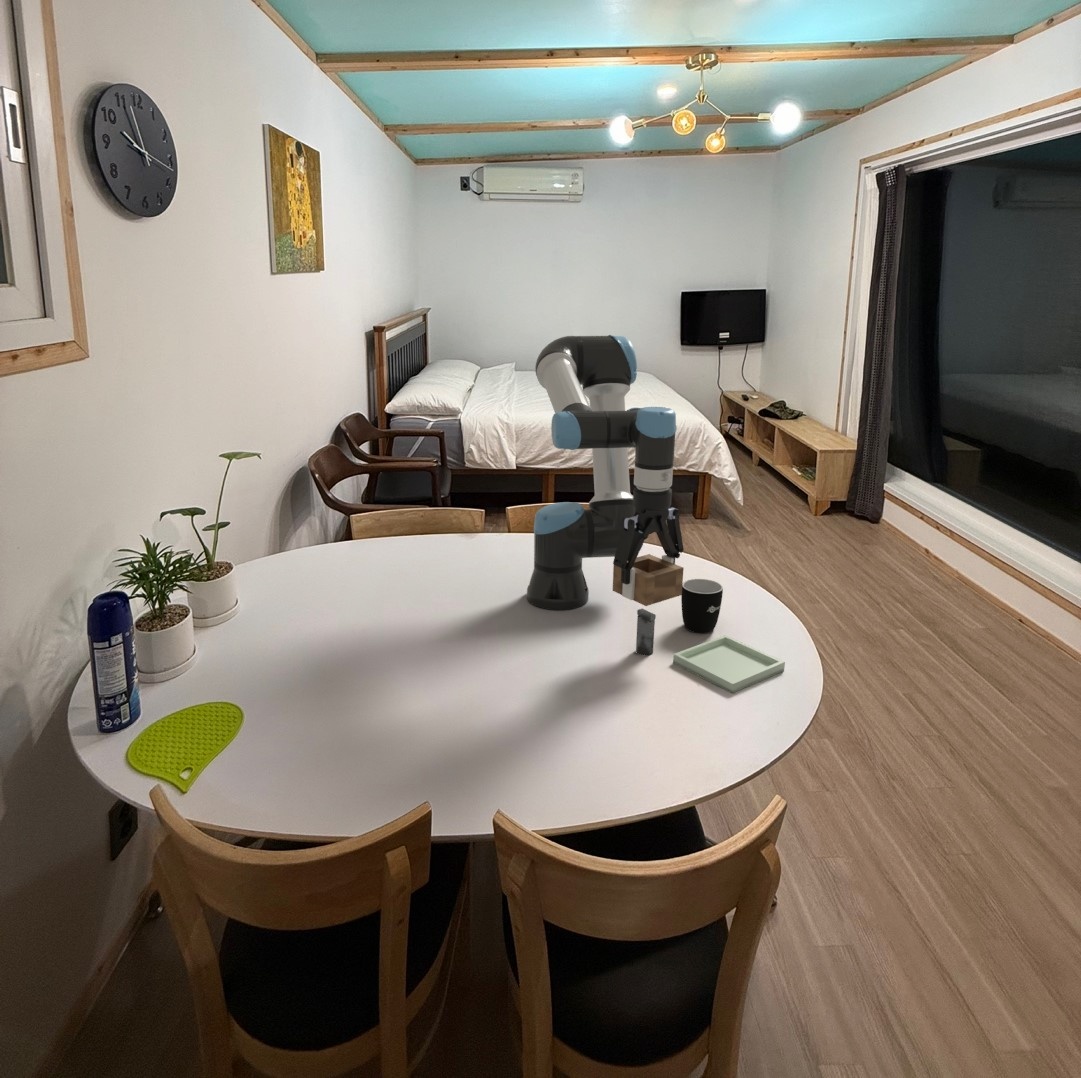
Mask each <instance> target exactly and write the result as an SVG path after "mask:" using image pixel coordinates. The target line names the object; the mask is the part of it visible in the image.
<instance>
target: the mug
mask: <svg viewBox="0 0 1081 1078" xmlns="http://www.w3.org/2000/svg"><path fill="white" fill-rule="evenodd" d="M723 591H724V588H723V585H722V584H721V583H719V582H718V581H715V580H712V579H705V578H692V579H688V580H685V581H683V584H682V595H680V596H681V597H680V598H681V599H680V600H681V601H680V602H681V603H680V604H681V614H682V616H681V617H682V622H683V625H684V627H685V629H686V630H688V631H689V632H691V633H695V634H696V633H697V634H707V633H708V634H709V633H711V632H712V631H714V629H715V628H716V625H717V623H718V621H719V620H718V619H719V616H720V612H721V607H722V600H723V595H724V594H723V593H724V592H723Z"/></svg>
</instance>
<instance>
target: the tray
mask: <svg viewBox="0 0 1081 1078" xmlns="http://www.w3.org/2000/svg"><path fill="white" fill-rule="evenodd" d="M672 657H673V659H672V660H673V661H672V663H673V664H674V665H677V666H678V667H680V668H682V669H684V670H686V671H688V672H690V673H691V674H694V675H696V676H697V677H700V678H701V679H703V680H705V681H707V682H709V683H711V684H713V685H715V686H717V687H719V688H721V689H723V690H725V691H726V692H728V693H731V694H735V693H736V692H739V691H741V690H743V689H746V688H748V687H750V686H753V685H755V684H757V683H760V682H762V681H764V680H766V679H769V678H771V677H773V676H776V675H778V674H780V673H782V672H784V671H785V665H786V662H785V661H783V660H782V659H780V658H777V657H775V656H772V655H771V654H769V653H766V652H764V651H761V650H760V649H757V648H755V647H753V646H750V645H748V644H746V643H743V642H742V641H739V640H737V639H735V638H732V637H730V636H728V635H726V634H724V635H720V636H719V637H716V638H713V639H711V640H708V641H705V642H702V643H700V644H696V645H694V646H692V647H689V648H686V649H684V650H681V651H678V652H675V653H673V656H672Z"/></svg>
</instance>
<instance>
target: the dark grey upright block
mask: <svg viewBox="0 0 1081 1078" xmlns="http://www.w3.org/2000/svg"><path fill="white" fill-rule="evenodd" d="M636 612H637V613H636V615H637V617H636V618H637V619H636V620H637V622H636V639H635V641H636V643H635V653H636V654H637V655H639V656H651V655H653V653H654V645H655V644H654V643H655V642H654V641H655V625H656V619H657V618H656V615H657V614H655V613H653V612H651V611H648V610H646V609H644V608H639V609H637V610H636Z"/></svg>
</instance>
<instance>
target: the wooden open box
mask: <svg viewBox="0 0 1081 1078" xmlns="http://www.w3.org/2000/svg"><path fill="white" fill-rule="evenodd" d="M627 563H628V561H627ZM632 568H634V569H635V587H634V600H633V601H634V602H636V603H638V604H641V605H643V606H645V607H648V606H651V605H655V604H659V603H661V602H664V601H668V600H671V599H674V598H676V597H680V596H681V595H682V584H683V582H684V581H683V580H684V567H683V566H681V565H678V564H676V563H675V564H673V563H670V562H668V561H665V560H663V559H662V558H660V557H659V556H656V555H653V554H650V553H649V554H645V555H644V554H643V555H641V556H637V558H636V560H635V562H634V565H633V567H632ZM622 589H623V583H622V582H621V568H620V567H618V566H615V565H614V564H613V571H612V592H614V593H616V594H619V595H621V596H622Z"/></svg>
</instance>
